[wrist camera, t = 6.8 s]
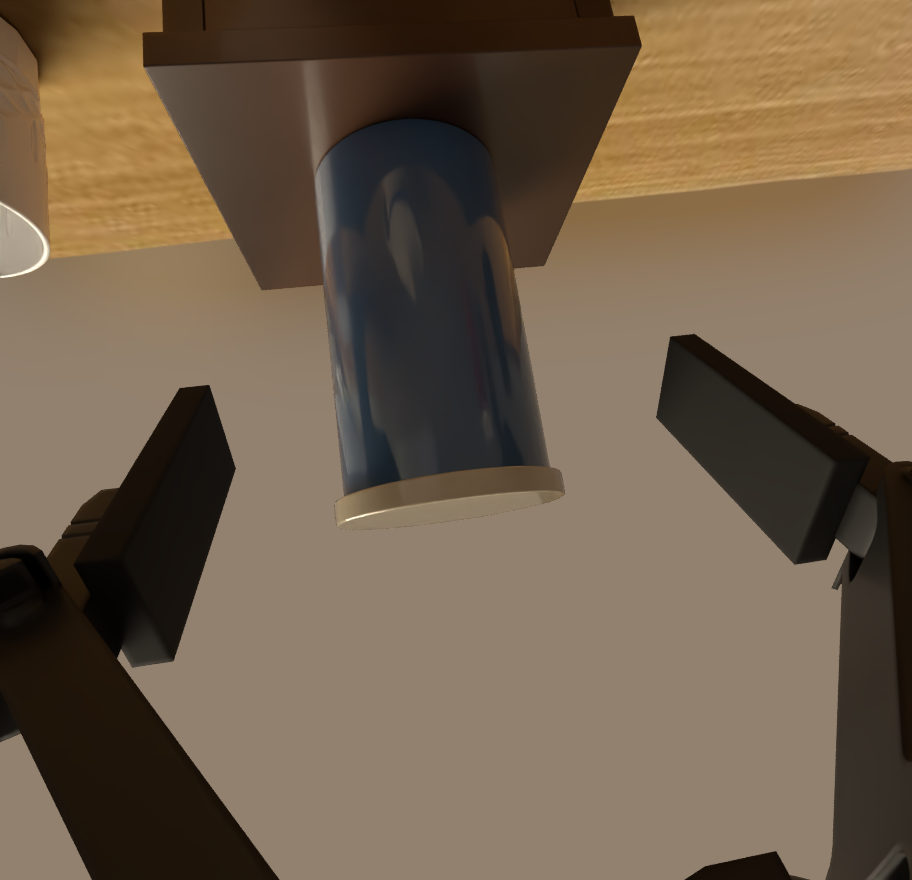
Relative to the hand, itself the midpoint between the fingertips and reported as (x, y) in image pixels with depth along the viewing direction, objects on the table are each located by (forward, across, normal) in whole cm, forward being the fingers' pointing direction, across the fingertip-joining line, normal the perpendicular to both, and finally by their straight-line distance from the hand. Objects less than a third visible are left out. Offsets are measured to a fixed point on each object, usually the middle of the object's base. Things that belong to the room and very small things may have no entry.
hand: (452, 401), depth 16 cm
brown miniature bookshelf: (+19, 0, +13) cm, 23 cm away
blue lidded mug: (+11, 0, +3) cm, 12 cm away
